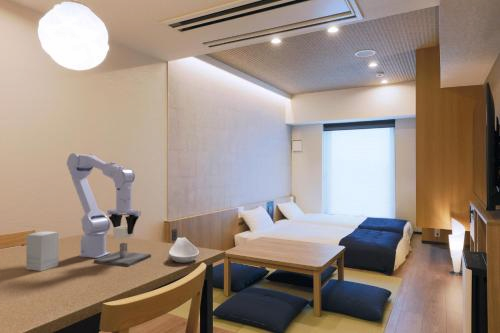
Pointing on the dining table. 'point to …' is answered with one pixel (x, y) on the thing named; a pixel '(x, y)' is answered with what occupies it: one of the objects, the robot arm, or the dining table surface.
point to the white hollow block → (121, 232)
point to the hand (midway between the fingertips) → (123, 233)
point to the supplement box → (42, 250)
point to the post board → (122, 257)
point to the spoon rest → (183, 251)
